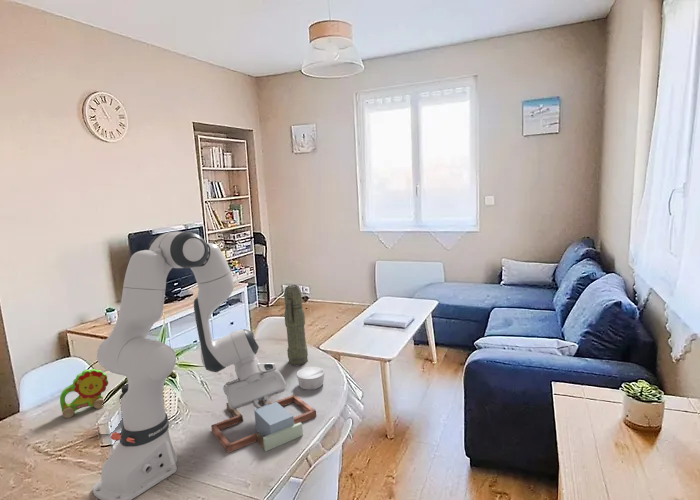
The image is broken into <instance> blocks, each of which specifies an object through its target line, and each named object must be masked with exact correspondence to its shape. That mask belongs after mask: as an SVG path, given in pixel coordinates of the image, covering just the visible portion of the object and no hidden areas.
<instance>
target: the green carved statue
mask: <svg viewBox="0 0 700 500" xmlns="http://www.w3.org/2000/svg"><path fill="white" fill-rule="evenodd" d="M283 297H284V299H283V300H284V306H285V307H284V310H285V311H284V313H283V315H284V325H285V327H286V336H287V359H288V364H289V365H290V366H294V365H295V366H296V365H298V366H302V365H305V364H307V363H308V361H309V360H308V359H309V358H308V356H309V354H308V346H307V343H306V332H305V325H306V318H305V311H304V308H303V298H302V291H301V289H300V285H299V286H298V285H297V284H291V285H287V286H286V287H284V292H283Z"/></svg>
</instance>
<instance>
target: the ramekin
mask: <svg viewBox="0 0 700 500" xmlns="http://www.w3.org/2000/svg"><path fill="white" fill-rule="evenodd" d="M325 374H326V373H325V370H324V368H322V367H318V366H305V367H302V368H300V369H299V370H298V371H297V372H296V378H297V382H298V385H299V386H298V387H300V388H301V389H303V390H307V391H309V390H310V391H311V390H316V389H319V388H321V386H322V385H323V384H324V380H325Z"/></svg>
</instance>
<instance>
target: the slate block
mask: <svg viewBox="0 0 700 500" xmlns="http://www.w3.org/2000/svg"><path fill="white" fill-rule="evenodd" d="M274 402H275V403H273V402H272V404H269V405H266V406H265V405H263V406H264V407H262V406H261V408H258V409H257V408H256V409H254V420H255V429H256V431H257V432H258V433H259V434H260V435H261V436H262V437H265V436H268V435H270V434H273V433H275V432H277V431H280V430H282V429H285V428H287V427H290V426H292V425H294V415H293V414H291V412H289V411H288V410H287V409H286V408H285V407H284V406H281V405H280V404H279V403H277V402H276V401H274Z"/></svg>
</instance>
